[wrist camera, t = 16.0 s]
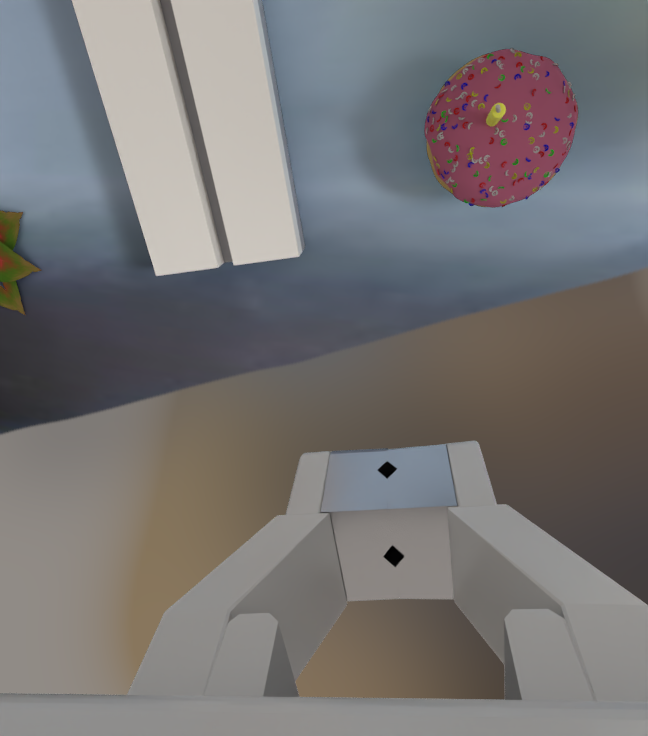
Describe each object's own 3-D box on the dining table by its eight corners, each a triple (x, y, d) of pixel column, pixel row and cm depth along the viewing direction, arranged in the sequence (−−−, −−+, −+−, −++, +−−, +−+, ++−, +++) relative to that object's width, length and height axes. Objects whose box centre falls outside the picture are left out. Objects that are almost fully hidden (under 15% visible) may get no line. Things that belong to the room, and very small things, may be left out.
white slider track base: (194, -390, 25) (170, -454, 22) (305, 247, 39) (299, 256, 36) (1, -319, 27) (-43, -370, 24) (171, 265, 40) (155, 276, 38)
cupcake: (395, 148, 35) (399, 161, 24) (479, 25, 31) (528, -24, 21) (491, 221, 36) (535, 263, 26) (581, 112, 33) (677, 107, 22)
